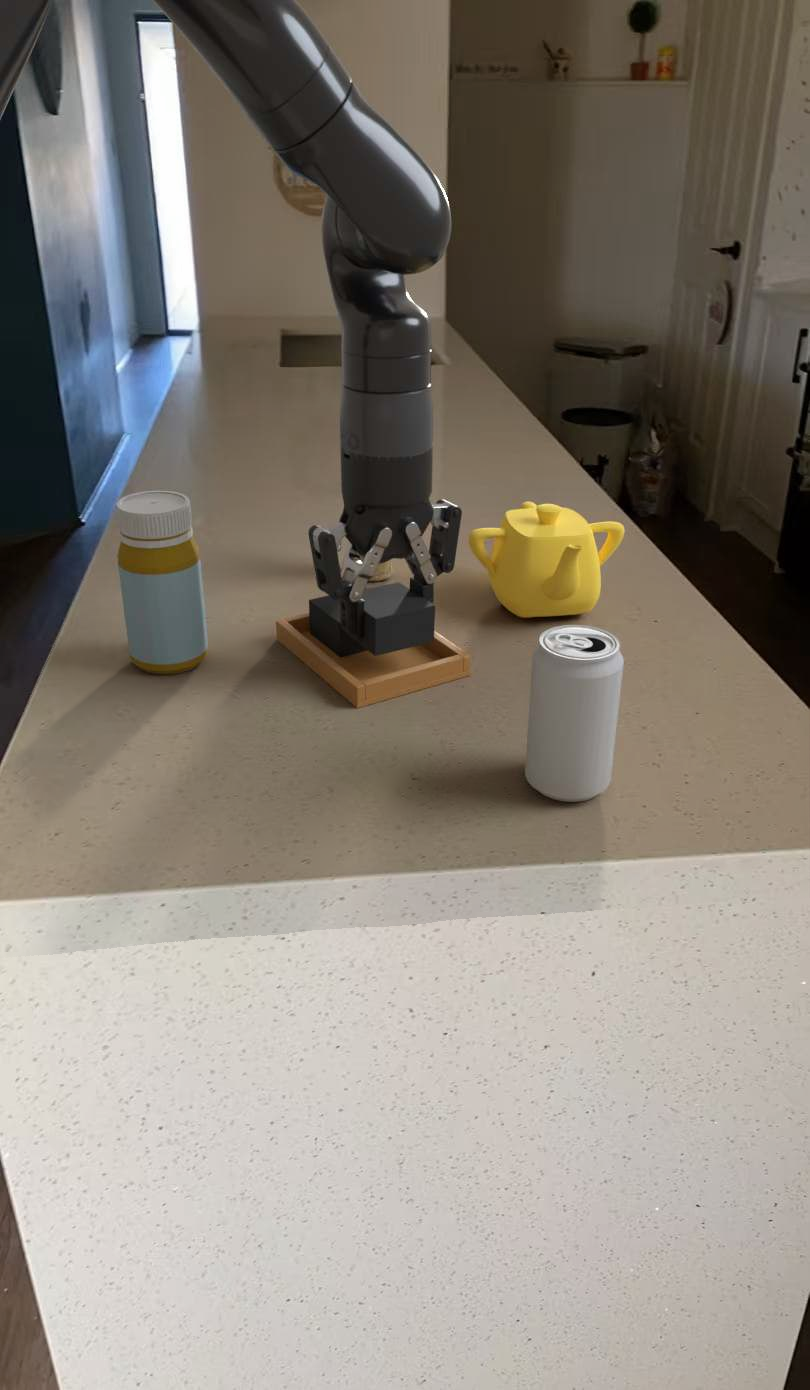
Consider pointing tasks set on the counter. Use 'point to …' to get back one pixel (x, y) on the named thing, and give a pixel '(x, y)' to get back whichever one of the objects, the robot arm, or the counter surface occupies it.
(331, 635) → the pad
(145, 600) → the bottle
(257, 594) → the counter surface
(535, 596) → the teapot
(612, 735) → the beverage can
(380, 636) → the pad
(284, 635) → the tray
